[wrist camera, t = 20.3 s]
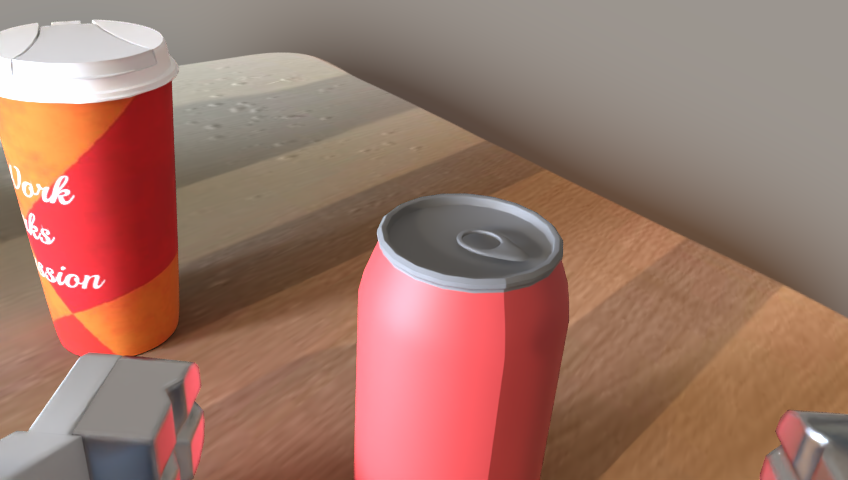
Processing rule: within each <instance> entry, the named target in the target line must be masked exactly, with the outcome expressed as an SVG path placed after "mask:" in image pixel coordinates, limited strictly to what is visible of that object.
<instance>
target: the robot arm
mask: <svg viewBox="0 0 848 480" xmlns="http://www.w3.org/2000/svg"><path fill="white" fill-rule="evenodd" d="M200 388H201V379H200V372H199V367H198V366H197V364H196V363H195V362H186V361H177V360H167V359H157V358H147V357H137V356H128V355H125V356H121V355H113V354H102V353H92V352H89V353H87V354H85V355H83V356H81V357H80V358H79V359H78V360H77V362H76V363H75V365H74V366H73V368H72V369H71V370H70V372H69V373H68V375H67V376H66V378H65V379H64V380H63V382H62V383H61V385H60V386H59V388H58V389H57V390H56V392H55V393H54V395H53V396H52V398H51V399H50V400H49V402H48V403H47V405H46V406H45V408H44V409H43V410H42V412H41V413H40V415H39V416H38V418H37V419H36V420H35V422H34V423H33V425H32V426H31V428H30V429H29V430H28V432H26V431H16V432H14V433H12V434H10V435H8V436H6V437H4V438H2V439H1V440H0V480H192V479H193V478H194V475H195V473H196V470H197V467H198V465H199V462H200V457H201V452H202V448H203V443H204V428H205V423H204V411H203V410H202V409H201V407H200V406H199V405H198V404H197V403H196V402H195V399H196V397H197V395H198V392H199V390H200ZM775 432H776V434H777V436H778V438H779V440H780V442H781V445H780V446H779V447H777V448H776V449H774V450H773V451H772V452H770V453H769V454H767V455H766V457H765V460H764V463H763V466H762V469H761V472H760V480H848V414H840V413H827V412H813V411H800V410H787V411H786V412H785V414H784V415H783V416H782V417H781V418H780V421H779V423H778V426H777V428H776V431H775Z"/></svg>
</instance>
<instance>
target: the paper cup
mask: <svg viewBox="0 0 848 480" xmlns="http://www.w3.org/2000/svg"><path fill="white" fill-rule="evenodd" d="M51 24H52V26H42V27H41V33H40V31H39V26H38V23H33V24H27V25H22V26H17V27H13V28H9V29H6V30H3V31H0V138H1V142H2V145H3V149H4V152H5V156H6V159H7V163H8V167H9V170H10V174H11V177H12V181H13V184H14V188H15V191H16V195H17V199H18V202H19V206H20V209H21V213H22V216H23V220H24V223H25V227H26V230H27V234H28V237H29V241H30V244H31V248H32V251H33V255H34V258H35V262H36V265H37V269H38V272H39V276H40V279H41V283H42V286H43V290H44V293H45V296H46V300H47V303H48V306H49V310H50V313H51V316H52V319H53V323H54V326H55V329H56V331H57V334H58V337H59V339H60V341H61V343H62V345H63V346H64V347H65V348H66V349H67V350H69V351H70V352H72V353H74V354H76V355H79V356H83V355H85V354H87V353H89V352H92V353H102V354H113V355H121V356H125V355H128V356H134V355H138V354H141V353H144V352H146V351H149V350H151V349H153V348H155V347H157V346H158V345H160V344H162V343H163V342H164V341H166V340H167V339H168V338H169V337H170V336H171V335H172V334H173V332H174V331H175V329H176V327H177V325H178V320H179V267H178V236H177V207H176V180H175V154H174V128H173V101H172V80H173V79H174V78H175V77H176V76H177V74H178V72H179V67H178V65H177V63H176V62H175V60H174V58H173V57H171V56H170V55H169V52H168V48H167V45H166V41H165V40H164V38H163V36H162V35H161V34H160V33H159V32H158V31H156V30H154V29H152V28H149V27H145V26H142V25H138V24H133V23H127V22H119V21H108V20H92V24H91V23H90V24H80V21H64V22H52V23H51Z"/></svg>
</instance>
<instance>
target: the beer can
mask: <svg viewBox="0 0 848 480" xmlns="http://www.w3.org/2000/svg"><path fill="white" fill-rule="evenodd" d="M377 236H378V242H377V244H376V247H375V249H374V251H373V253H372V255H371V257H370V259H369V261H368V263H367V265H366V268H365V270H364V273H363V276H362V280H361V283H360V287H359V291H358V330H357V369H356V408H355V448H354V480H540V475H541V470H542V464H543V459H544V454H545V448H546V443H547V437H548V432H549V426H550V421H551V415H552V410H553V405H554V399H555V394H556V388H557V383H558V377H559V372H560V366H561V361H562V356H563V350H564V345H565V339H566V334H567V328H568V323H569V294H568V282H567V278H566V274H565V271H564V267H563V263H562V257H563V240H562V238H561V237H560V235H559V233H558V232H557V230H556V228H555V227H554V226H553V225H552V224H551V223H549V222H548V221H547V220H546V219H544V218H543V217H542V216H540V215H539V214H538V213H536V212H534V211H532V210H530V209H528V208H526V207H523V206H521V205H519V204H517V203H513V202H510V201H506V200H502V199H499V198H495V197H490V196H482V195H475V194H438V195H431V196H425V197H419V198H416V199H414V200H411V201H408V202H406V203H403V204H400V205H399V206H397V207H396V208H395V209H393V210H392V211H391V212H389V213H388V214H387V215H385V216H384V217H383V219H382V221H381V223H380V225H379V227H378V229H377Z"/></svg>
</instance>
